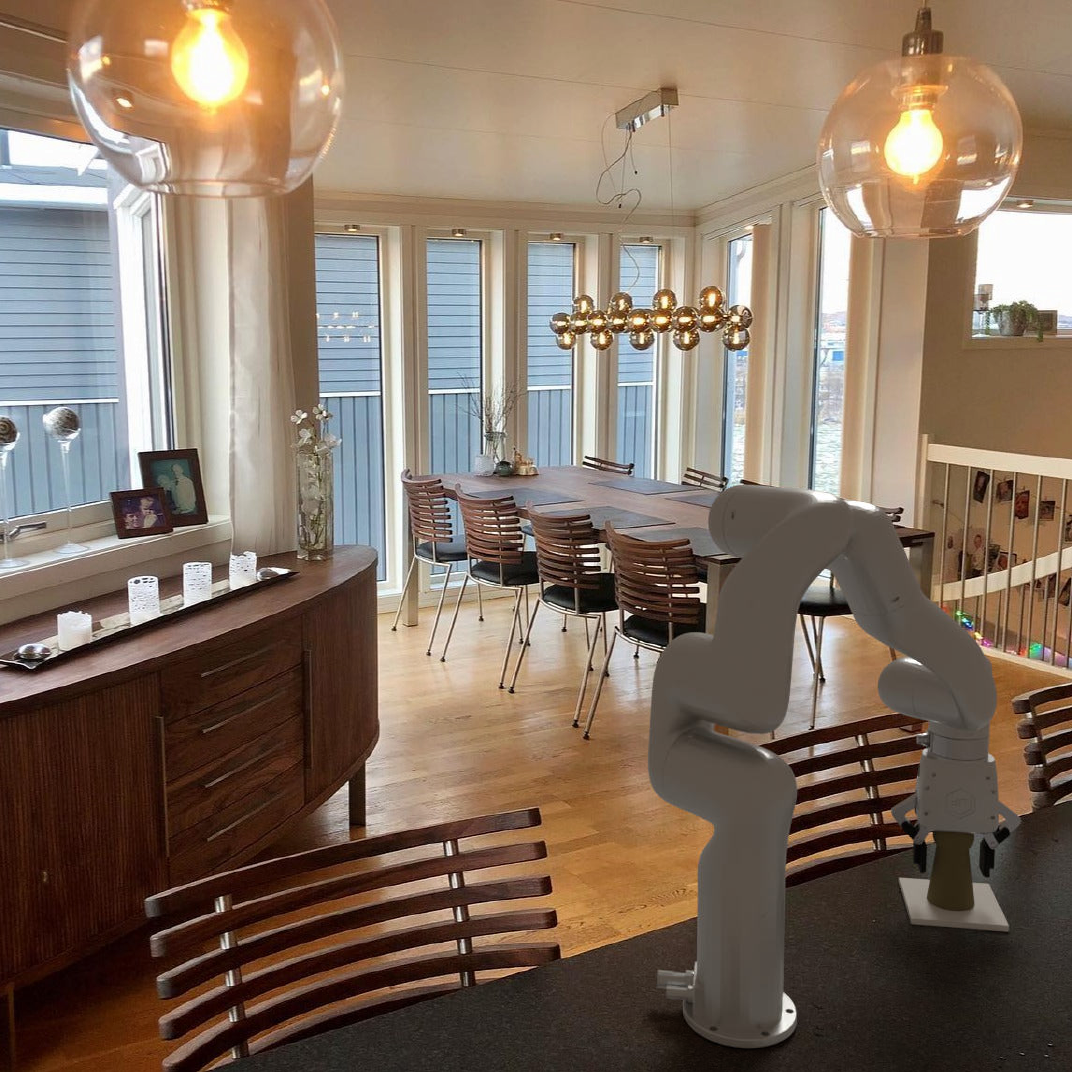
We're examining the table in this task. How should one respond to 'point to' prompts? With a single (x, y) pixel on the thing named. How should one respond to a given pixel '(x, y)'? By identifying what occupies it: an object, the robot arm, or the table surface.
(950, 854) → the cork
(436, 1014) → the table surface
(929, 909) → the tile
